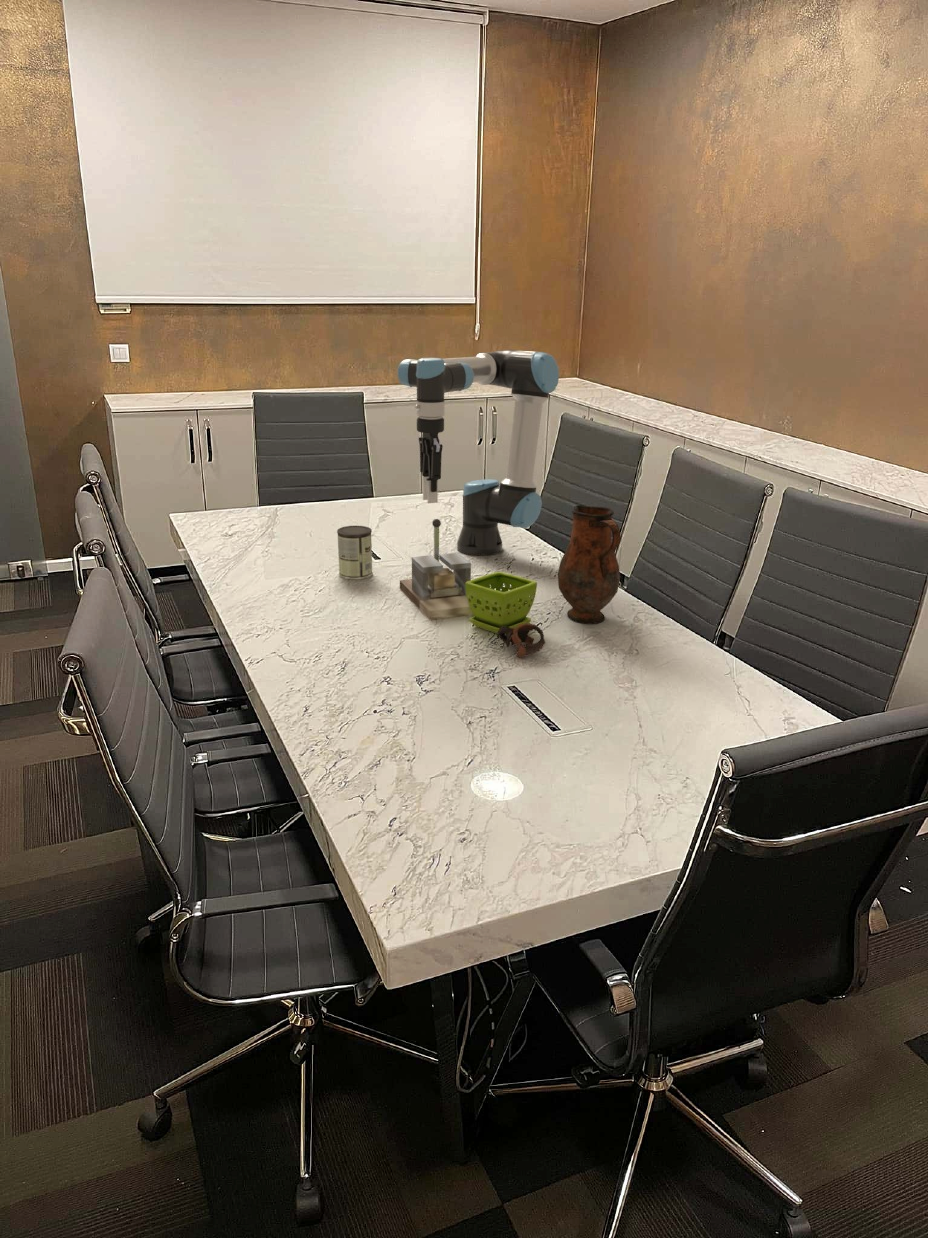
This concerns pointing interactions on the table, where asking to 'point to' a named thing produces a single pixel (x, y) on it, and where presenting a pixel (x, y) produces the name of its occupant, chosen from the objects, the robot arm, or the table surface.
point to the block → (441, 579)
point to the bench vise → (419, 586)
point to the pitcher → (590, 564)
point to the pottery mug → (522, 638)
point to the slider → (445, 591)
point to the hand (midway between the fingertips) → (430, 500)
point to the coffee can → (355, 552)
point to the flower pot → (500, 600)
